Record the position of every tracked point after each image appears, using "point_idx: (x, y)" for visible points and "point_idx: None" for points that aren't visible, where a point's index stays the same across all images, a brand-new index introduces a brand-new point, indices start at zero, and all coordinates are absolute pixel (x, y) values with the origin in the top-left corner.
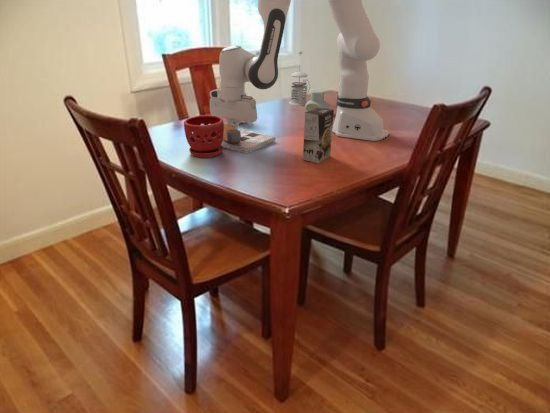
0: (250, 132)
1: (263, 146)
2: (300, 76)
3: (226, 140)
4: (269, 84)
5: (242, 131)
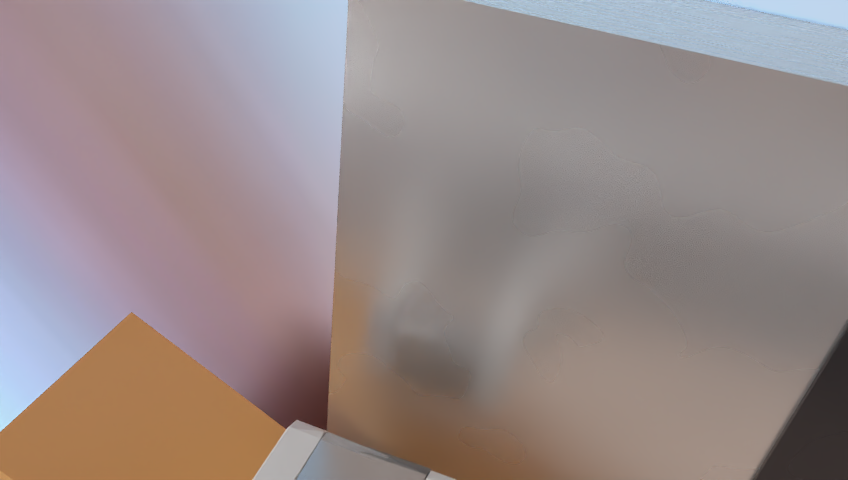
0: (806, 212)
1: None
2: None
3: None
4: None
5: (496, 200)
